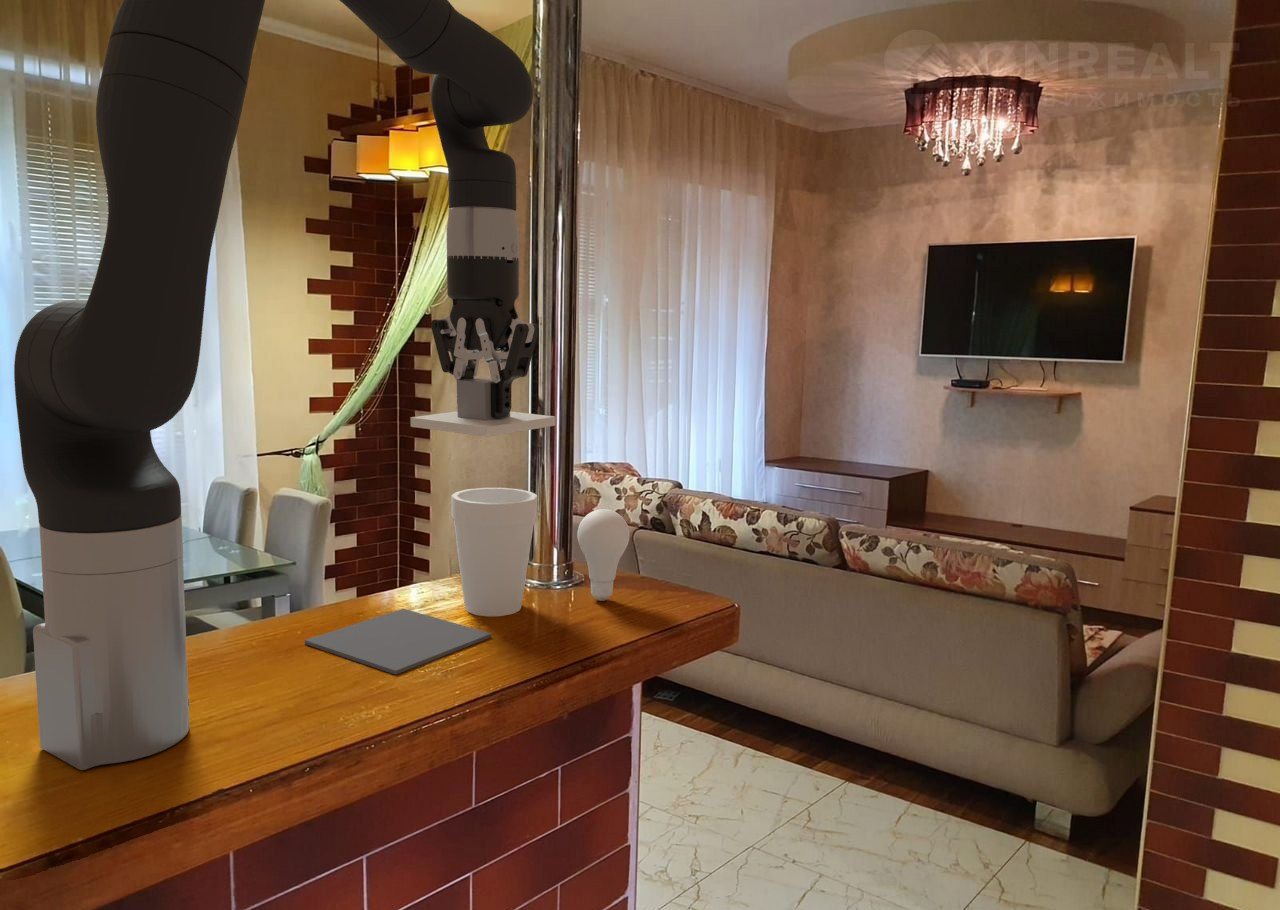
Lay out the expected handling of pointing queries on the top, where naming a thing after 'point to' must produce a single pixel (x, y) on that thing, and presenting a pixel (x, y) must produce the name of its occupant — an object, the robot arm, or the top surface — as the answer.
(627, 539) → the lightbulb
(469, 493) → the foam cup
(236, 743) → the top surface
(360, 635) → the mat
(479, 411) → the cover
